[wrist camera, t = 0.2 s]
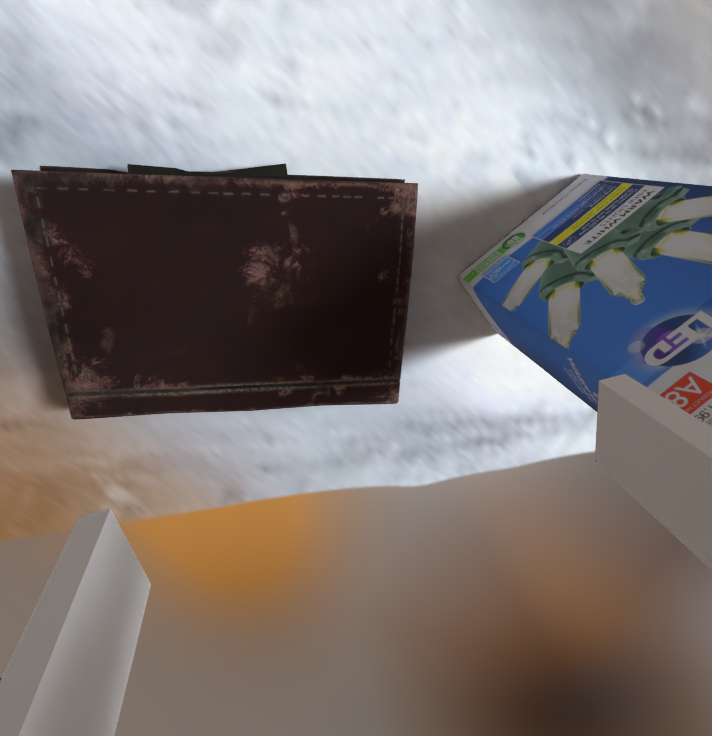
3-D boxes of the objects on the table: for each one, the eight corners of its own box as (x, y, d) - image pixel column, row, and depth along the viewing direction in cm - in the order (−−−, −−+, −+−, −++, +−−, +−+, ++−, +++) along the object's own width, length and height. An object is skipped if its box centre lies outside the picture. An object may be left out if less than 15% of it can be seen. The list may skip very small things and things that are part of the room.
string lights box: (583, 170, 39) (1054, 202, 16) (619, 242, 42) (1055, 356, 19) (453, 278, 41) (708, 448, 18) (498, 339, 44) (763, 551, 21)
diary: (384, 385, 45) (398, 412, 40) (91, 398, 40) (71, 430, 36) (402, 167, 37) (422, 171, 32) (40, 152, 32) (5, 155, 28)
